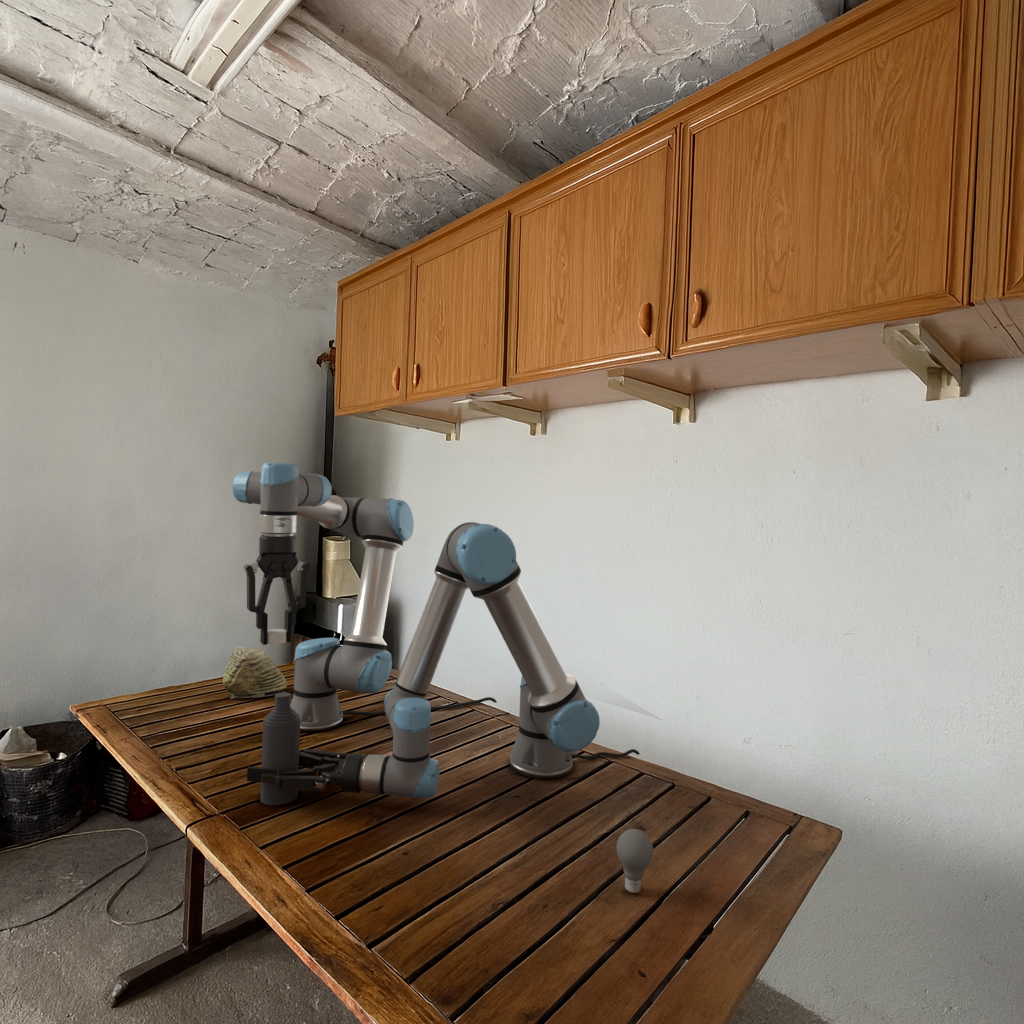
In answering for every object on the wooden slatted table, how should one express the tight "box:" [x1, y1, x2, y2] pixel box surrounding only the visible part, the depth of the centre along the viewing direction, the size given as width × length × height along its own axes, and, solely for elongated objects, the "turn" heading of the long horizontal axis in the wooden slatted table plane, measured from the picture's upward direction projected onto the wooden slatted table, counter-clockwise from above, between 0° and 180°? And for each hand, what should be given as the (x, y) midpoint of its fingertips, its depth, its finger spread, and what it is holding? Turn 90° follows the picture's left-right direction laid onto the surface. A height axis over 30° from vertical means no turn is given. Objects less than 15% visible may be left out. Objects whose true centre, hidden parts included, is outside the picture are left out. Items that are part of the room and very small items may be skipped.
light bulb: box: [615, 828, 654, 894], centre depth 106 cm, size 6×6×10 cm
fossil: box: [222, 646, 288, 699], centre depth 198 cm, size 9×18×15 cm, turn 132°
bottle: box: [259, 691, 301, 806], centre depth 133 cm, size 7×7×22 cm
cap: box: [267, 628, 287, 645], centre depth 137 cm, size 4×4×2 cm
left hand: (275, 641), depth 137 cm, fingers closed on cap, 4 cm apart
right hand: (257, 765), depth 133 cm, fingers closed on bottle, 7 cm apart
